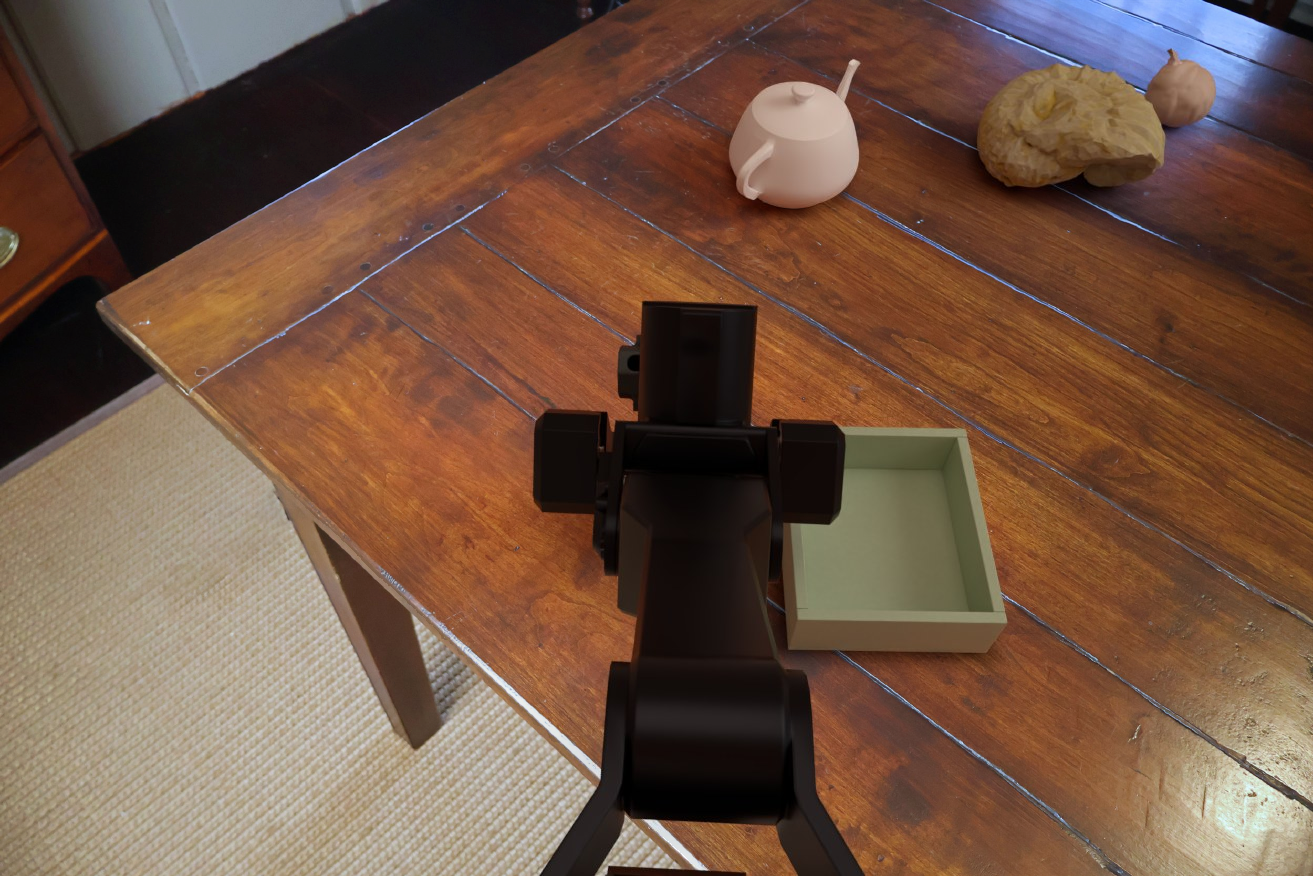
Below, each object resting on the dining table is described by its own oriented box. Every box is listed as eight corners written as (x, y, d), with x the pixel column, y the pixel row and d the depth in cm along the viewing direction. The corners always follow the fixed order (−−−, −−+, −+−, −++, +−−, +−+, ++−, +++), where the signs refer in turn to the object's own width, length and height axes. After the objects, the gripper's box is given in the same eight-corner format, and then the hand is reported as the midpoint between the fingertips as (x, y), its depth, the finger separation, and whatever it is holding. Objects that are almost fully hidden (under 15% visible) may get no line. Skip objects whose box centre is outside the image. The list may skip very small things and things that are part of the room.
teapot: (794, 103, 102) (808, 13, 93) (897, 150, 97) (921, 59, 89) (681, 202, 92) (685, 111, 84) (790, 259, 88) (805, 169, 80)
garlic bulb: (1153, 94, 104) (1187, 25, 97) (1209, 120, 101) (1248, 51, 95) (1123, 121, 101) (1156, 51, 94) (1180, 148, 98) (1218, 79, 92)
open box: (986, 653, 66) (1008, 623, 62) (788, 649, 66) (797, 619, 62) (948, 464, 75) (965, 428, 71) (774, 461, 75) (782, 424, 71)
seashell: (1031, 129, 104) (935, 146, 96) (1084, 33, 96) (983, 43, 89) (1152, 221, 95) (1055, 247, 88) (1220, 123, 88) (1121, 143, 80)
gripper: (874, 349, 50) (827, 333, 66) (519, 334, 51) (555, 322, 66) (858, 555, 52) (817, 492, 68) (516, 539, 52) (552, 481, 68)
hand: (686, 444), depth 67 cm, fingers open, 9 cm apart
